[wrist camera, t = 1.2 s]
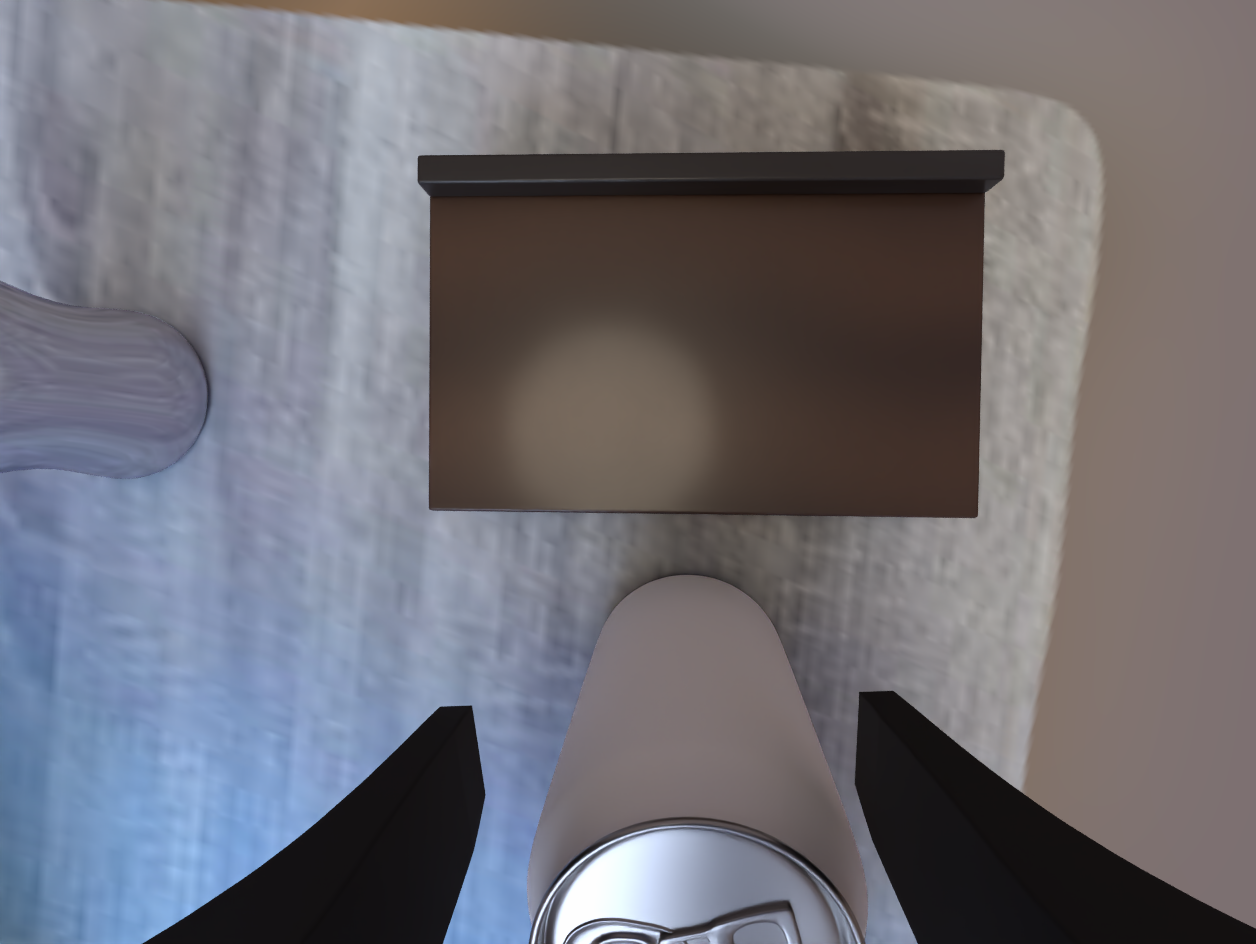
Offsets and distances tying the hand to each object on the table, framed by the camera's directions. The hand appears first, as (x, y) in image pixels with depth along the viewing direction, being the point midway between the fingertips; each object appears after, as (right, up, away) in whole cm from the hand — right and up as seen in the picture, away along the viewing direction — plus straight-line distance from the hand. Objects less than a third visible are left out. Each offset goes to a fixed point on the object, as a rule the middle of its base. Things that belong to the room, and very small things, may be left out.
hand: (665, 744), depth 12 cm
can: (+1, -1, +11) cm, 11 cm away
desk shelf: (+2, +9, +11) cm, 14 cm away
